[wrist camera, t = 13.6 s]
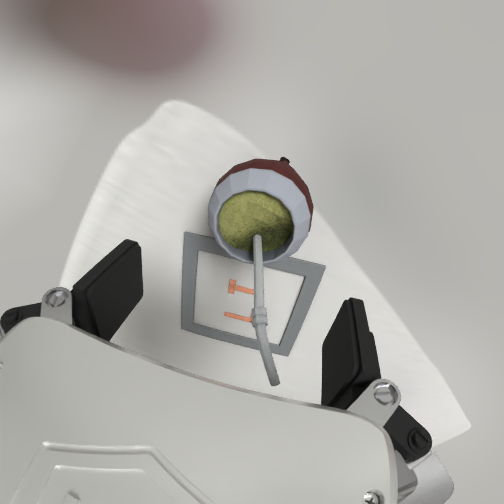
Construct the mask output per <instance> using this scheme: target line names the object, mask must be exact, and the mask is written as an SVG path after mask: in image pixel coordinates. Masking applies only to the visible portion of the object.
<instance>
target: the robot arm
mask: <svg viewBox="0 0 504 504" xmlns="http://www.w3.org/2000/svg"><path fill="white" fill-rule="evenodd" d="M142 296H143V279H142V259H141V247H140V246H139V244H138V243H137V242H135V241H132V240H128V239H126V240H124V241H123V242H122V243H120V244H119V245H118V246H117V247H116V248H115V249H113V250H112V251H111V252H110V253H109V254H108V255H106V256H105V257H104V258H103V259H102V260H101V261H100V262H99V263H97V264H96V265H95V266H94V267H93V268H92V269H91V270H90V271H88V272H87V273H86V274H85V275H84V276H83V277H82V278H81V279H80V280H79V281H78V282H77V283H76V284H74V285H73V289H72V290H71V291H69V290H68V289H66V288H63V287H56V288H53V289H50V290H49V291H47V292H46V293H45V294H44V296H43V298H42V302H41V303H36V304H31V305H26V306H21V307H16V308H12V309H9V310H7V311H6V312H5V313H4V314H3V315H2V317H1V320H0V504H444V503H445V502H446V501H447V500H448V499H449V498H450V497H451V495H452V493H453V490H454V484H453V481H452V479H451V477H450V476H449V474H448V472H447V471H446V469H445V467H444V466H443V464H442V462H441V461H440V459H439V457H438V456H437V454H436V452H434V453H432V452H431V450H430V449H431V447H432V439H431V436H430V434H429V432H428V431H427V430H426V429H425V428H424V427H423V426H422V425H420V424H419V423H418V422H417V421H416V420H415V419H414V418H413V417H412V416H411V415H410V414H408V413H407V412H406V411H405V410H404V409H403V408H402V407H401V406H400V405H399V404H400V401H401V393H400V390H399V389H398V387H397V386H396V385H395V384H394V383H393V382H391V381H390V380H387V379H381V374H380V368H379V362H378V356H377V351H376V346H375V340H374V336H373V333H372V332H370V331H369V326H368V321H367V317H366V312H365V307H364V303H363V300H360V299H355V298H349V300H345V301H344V302H343V304H342V306H341V308H340V310H339V312H338V314H337V317H336V319H335V321H334V323H333V324H332V326H331V328H330V330H329V332H328V334H327V336H326V338H325V340H324V342H323V346H322V397H321V405H319V404H313V403H307V402H302V401H297V400H292V399H287V398H283V397H278V396H273V395H268V394H264V393H260V392H255V391H251V390H247V389H243V388H239V387H236V386H232V385H228V384H225V383H221V382H218V381H214V380H211V379H208V378H204V377H201V376H198V375H195V374H192V373H189V372H186V371H183V370H180V369H177V368H174V367H171V366H168V365H165V364H163V363H160V362H157V361H155V360H152V359H149V358H147V357H144V356H142V355H139V354H137V353H134V352H132V351H129V350H127V349H125V348H122V347H120V346H118V345H115V344H113V343H111V342H109V341H110V339H111V338H112V337H113V335H114V334H115V333H116V331H117V330H118V328H119V327H120V326H121V324H122V323H123V322H124V320H125V319H126V318H127V316H128V315H129V314H130V313H131V311H132V310H133V309H134V307H135V306H136V305H137V303H138V302H139V301H140V300H141V298H142Z"/></svg>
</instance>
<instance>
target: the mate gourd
mask: <svg viewBox="0 0 504 504" xmlns="http://www.w3.org/2000/svg"><path fill="white" fill-rule="evenodd" d="M312 214H313V203H312V200H311V196H310V193H309V189H308V187H307V185H306V184H305V183H304V181H303V180H302V179H301V177H300V176H299V175H298V174H297V173H296V171H295V170H294V169H293V168H292V167H291V166H290V165H289V160H288V159H286V158H285V157H281V159H280V161H277V160H267V159H253V160H250V161H247V162H244V163H241V164H238V165H235V166H234V167H233V168H231V169H230V170H229V171H228V172H227V173H226V174H225V175H224V176H223V177H221V178H220V179H219V181H218V182H217V185H216V187H215V189H214V192H213V194H212V196H211V199H210V202H209V205H208V220H209V226H210V229H211V231H212V233H213V236H214V238H215V240H216V242H217V243H218V244H219V245H220V246H221V247H222V248H223V249H224V250H225V251H226V252H227V253H228V254H229V255H230V256H232V257H234V258H236V259H238V260H240V261H242V262H244V263H249V264H254V308H253V309H252V325H253V327H255V331H256V336H257V341H258V345H259V349H260V353H261V356H262V359H263V362H264V365H265V369H266V372H267V375H268V378H269V381H270V384H271V386H276V385H279V384H280V381H279V378H278V374H277V371H276V368H275V364H274V361H273V358H272V354H271V351H270V347H269V343H268V338H267V334H266V326H267V325H268V323H267V312H266V308H265V307H264V285H263V265H266V264H271V263H276V262H280V261H283V260H285V259H286V258H288V257H289V256H291V255H292V254H294V253H295V252H297V251H298V249H299V248H300V246H301V245H302V243H303V242H304V240H305V239H306V237H307V236H308V232H309V231H310V227H311V221H312Z"/></svg>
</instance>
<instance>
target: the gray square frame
mask: <svg viewBox="0 0 504 504" xmlns="http://www.w3.org/2000/svg"><path fill="white" fill-rule="evenodd" d="M198 250H201V251H205V252H209V253H213V254H217V255H221V256H225V257H229V258H233V259H236V258H234V257H232V256H230V255H229V254H228V253H227V252H226V251H225V250H224V249H223V248H222V247H221V246H220V245H219V244H218V243H217V242H216V240H215V239H214V238H210V237H206V236H202V235H197V234H193V233H189V232H185V233H184V248H183V270H182V309H181V329H183V330H186V331H190V332H193V333H196V334H200V335H203V336H207V337H210V338H214V339H217V340H221V341H225V342H228V343H232V344H236V345H240V346H244V347H248V348H252V349H256V350H260V349H259V345H258V341H257V340H255V339H251V338H247V337H243V336H239V335H235V334H231V333H227V332H224V331H220V330H216V329H213V328H209V327H206V326H202V325H199V324H195V323H193V321H194V303H195V287H196V273H197V260H198ZM237 260H238V259H237ZM263 266H266V267H270V268H274V269H278V270H282V271H286V272H290V273H294V274H299V275H303V276H306V277H305V280H304V283H303V286H302V288H301V291H300V294H299V296H298V299H297V302H296V305H295V307H294V310H293V312H292V315H291V318H290V320H289V323H288V326H287V328H286V331H285V333H284V336H283V338H282V341H281V343H280V345H277V344H272V343H269V347H270V351H271V353H274V354H278V355H283V356H288V355H289V353H290V351H291V349H292V347H293V345H294V342H295V340H296V338H297V336H298V333H299V331H300V329H301V327H302V324H303V322H304V320H305V317H306V315H307V313H308V310H309V308H310V305H311V303H312V301H313V298H314V296H315V293H316V291H317V288H318V286H319V283H320V281H321V278H322V276H323V273H324V271H325V268H326V266H324V265H320V264H316V263H312V262H308V261H304V260H300V259H296V258H292V257H288V258H286V259H285V260H283V261H280V262H276V263H271V264H266V265H263ZM235 283H236V281H235V280H231V279H230V284H229V290H228V293H231V294H234V290H237V291H241V292H245V293H249V294H253V295H254V290H252V289H248V288H244V287H240V286H236V285H235ZM224 316H227V317H231V318H235V319H239V320H243V321H247V322H251V323H252V314H251V318H247V317H243V316H239V315H235V314H231V313H227V312H225V315H224Z"/></svg>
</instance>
